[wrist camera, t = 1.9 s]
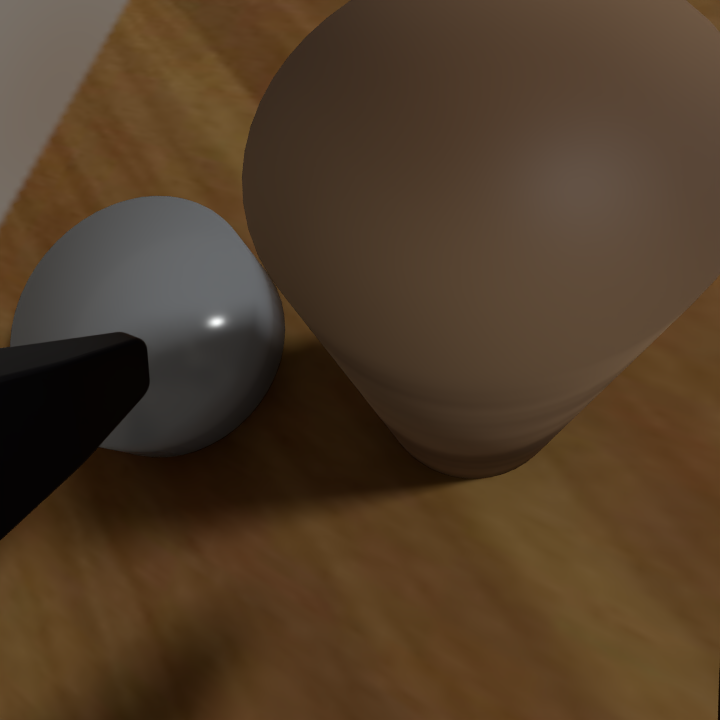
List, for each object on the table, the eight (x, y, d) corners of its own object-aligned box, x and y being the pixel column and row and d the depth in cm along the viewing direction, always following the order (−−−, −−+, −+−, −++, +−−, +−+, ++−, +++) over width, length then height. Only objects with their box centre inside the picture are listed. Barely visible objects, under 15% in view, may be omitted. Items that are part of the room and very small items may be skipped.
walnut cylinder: (518, 511, 17) (648, 483, 5) (352, 429, 18) (157, 264, 7) (590, 346, 18) (837, 0, 6) (427, 283, 20) (372, -81, 8)
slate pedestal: (206, 501, 19) (161, 497, 16) (29, 395, 21) (-38, 375, 18) (326, 283, 20) (304, 245, 17) (147, 210, 23) (103, 166, 20)
